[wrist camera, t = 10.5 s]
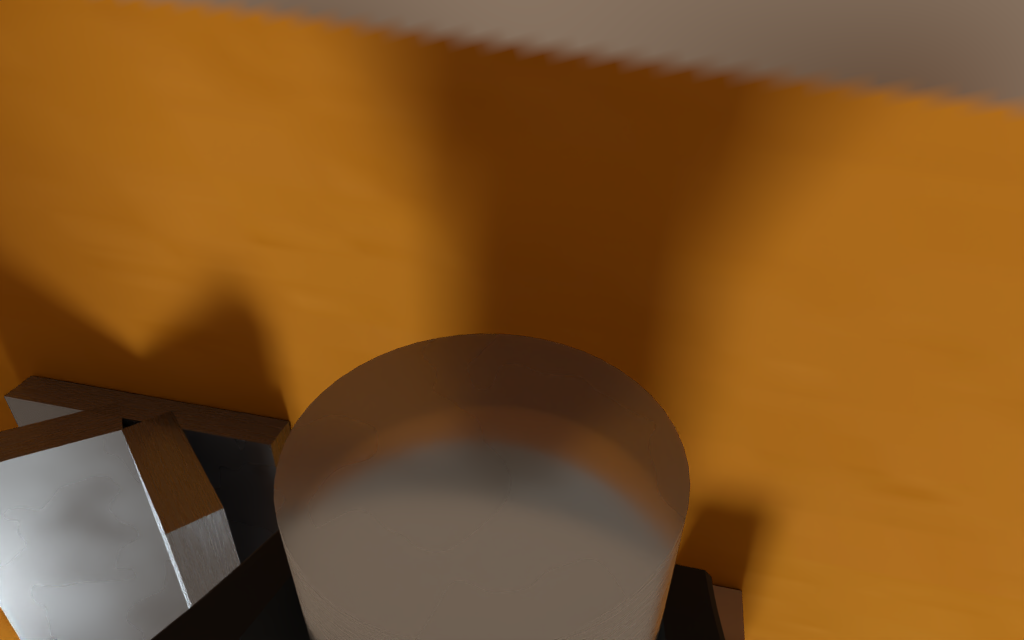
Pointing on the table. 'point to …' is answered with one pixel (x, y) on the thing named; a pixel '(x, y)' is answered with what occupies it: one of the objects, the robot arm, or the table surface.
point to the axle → (482, 497)
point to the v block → (125, 507)
